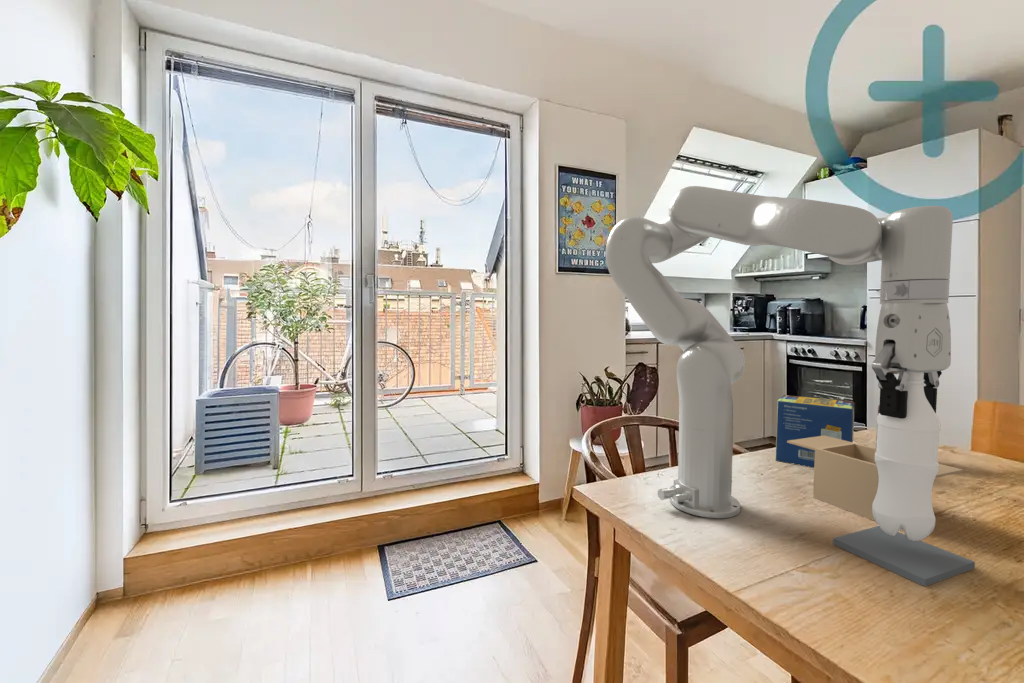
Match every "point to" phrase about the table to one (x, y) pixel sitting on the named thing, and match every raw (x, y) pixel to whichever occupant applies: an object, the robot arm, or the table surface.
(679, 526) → the table surface
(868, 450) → the carton
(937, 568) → the slate mat
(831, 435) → the protein box
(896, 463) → the water bottle
